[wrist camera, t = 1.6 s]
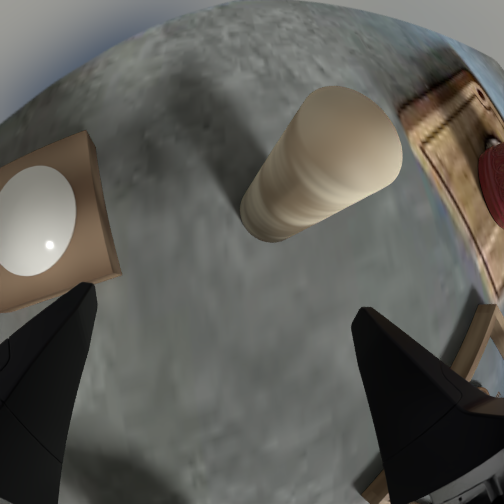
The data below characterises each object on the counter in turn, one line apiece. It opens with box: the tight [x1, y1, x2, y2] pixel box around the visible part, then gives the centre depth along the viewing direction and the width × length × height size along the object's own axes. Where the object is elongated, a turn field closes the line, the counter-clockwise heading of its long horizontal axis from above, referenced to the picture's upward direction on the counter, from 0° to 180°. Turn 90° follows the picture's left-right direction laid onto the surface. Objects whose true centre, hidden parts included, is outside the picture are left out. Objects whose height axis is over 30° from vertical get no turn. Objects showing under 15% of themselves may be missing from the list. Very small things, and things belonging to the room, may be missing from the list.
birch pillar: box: [240, 86, 402, 243], centre depth 17 cm, size 5×5×13 cm
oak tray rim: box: [361, 304, 504, 504], centre depth 25 cm, size 26×26×3 cm
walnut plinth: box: [0, 130, 122, 313], centre depth 18 cm, size 11×11×3 cm
